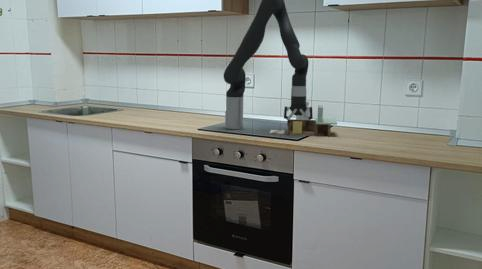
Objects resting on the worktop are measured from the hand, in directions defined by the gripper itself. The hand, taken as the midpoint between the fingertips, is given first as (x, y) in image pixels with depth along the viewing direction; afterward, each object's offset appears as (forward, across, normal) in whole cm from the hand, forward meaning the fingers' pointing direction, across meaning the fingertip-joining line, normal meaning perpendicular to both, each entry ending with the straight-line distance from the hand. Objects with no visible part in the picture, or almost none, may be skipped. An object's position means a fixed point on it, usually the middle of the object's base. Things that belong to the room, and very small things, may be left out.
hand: (297, 127), depth 227 cm
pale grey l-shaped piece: (-3, +14, 0) cm, 14 cm away
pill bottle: (+4, +3, +20) cm, 21 cm away
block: (+3, 0, 0) cm, 3 cm away
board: (+4, +1, 0) cm, 4 cm away
